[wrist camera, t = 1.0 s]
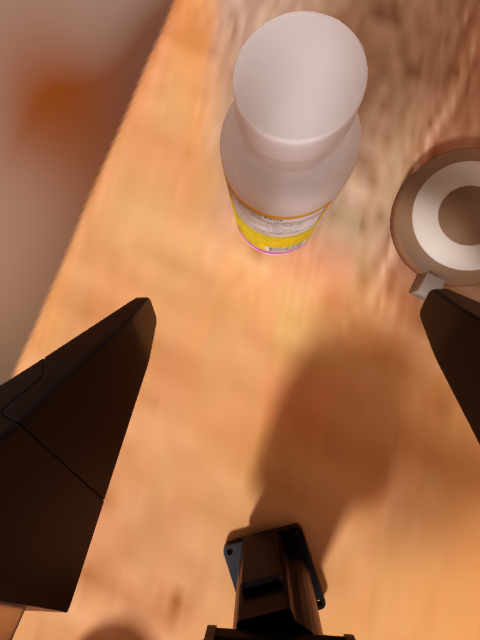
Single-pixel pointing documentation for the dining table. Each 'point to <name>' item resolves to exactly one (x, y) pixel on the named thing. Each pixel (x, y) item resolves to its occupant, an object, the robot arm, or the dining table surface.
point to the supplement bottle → (292, 127)
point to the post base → (440, 222)
